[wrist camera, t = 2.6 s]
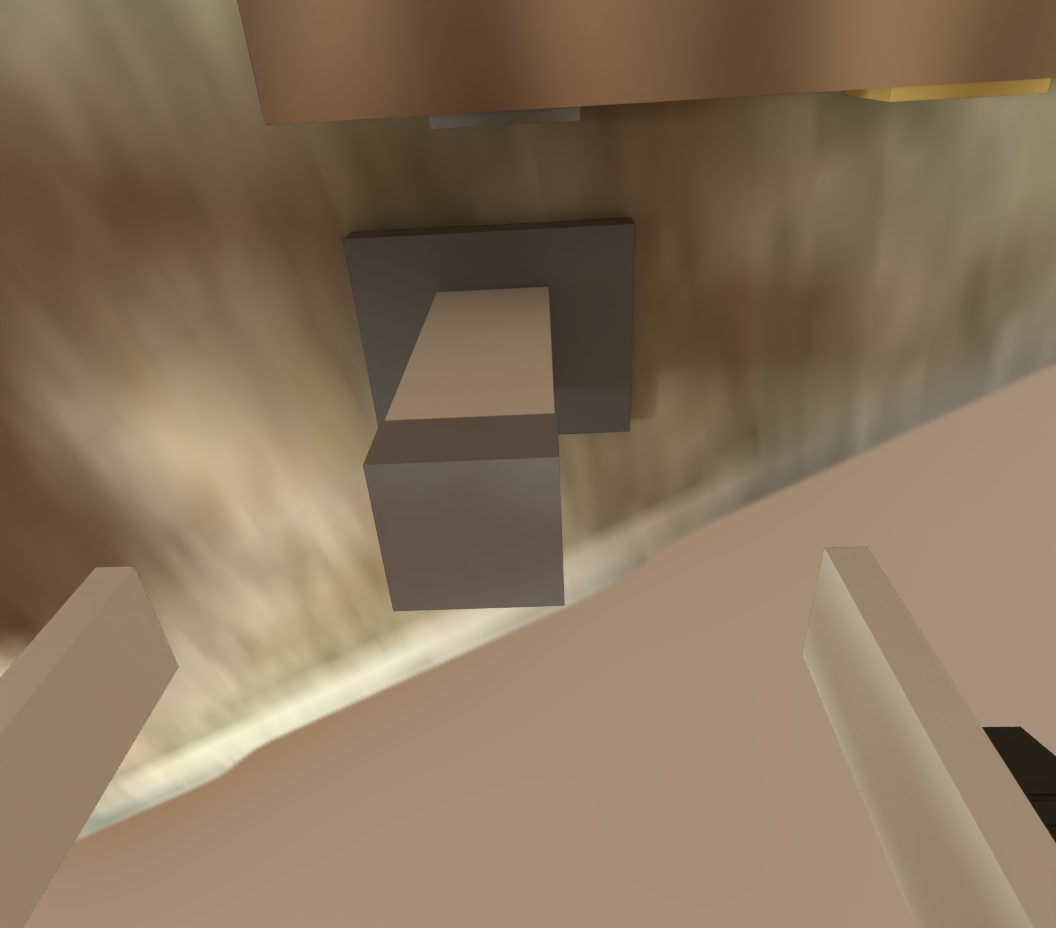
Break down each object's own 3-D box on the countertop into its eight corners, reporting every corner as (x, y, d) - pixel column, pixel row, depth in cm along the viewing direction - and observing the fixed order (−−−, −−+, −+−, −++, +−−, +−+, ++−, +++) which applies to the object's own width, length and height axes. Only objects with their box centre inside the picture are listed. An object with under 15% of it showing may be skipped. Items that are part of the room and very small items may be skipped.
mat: (385, 430, 29) (381, 441, 28) (349, 232, 25) (343, 239, 24) (626, 419, 28) (629, 431, 28) (631, 217, 24) (634, 223, 23)
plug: (448, 394, 27) (393, 611, 17) (435, 290, 25) (363, 465, 14) (554, 390, 27) (564, 605, 16) (549, 285, 25) (558, 456, 14)
